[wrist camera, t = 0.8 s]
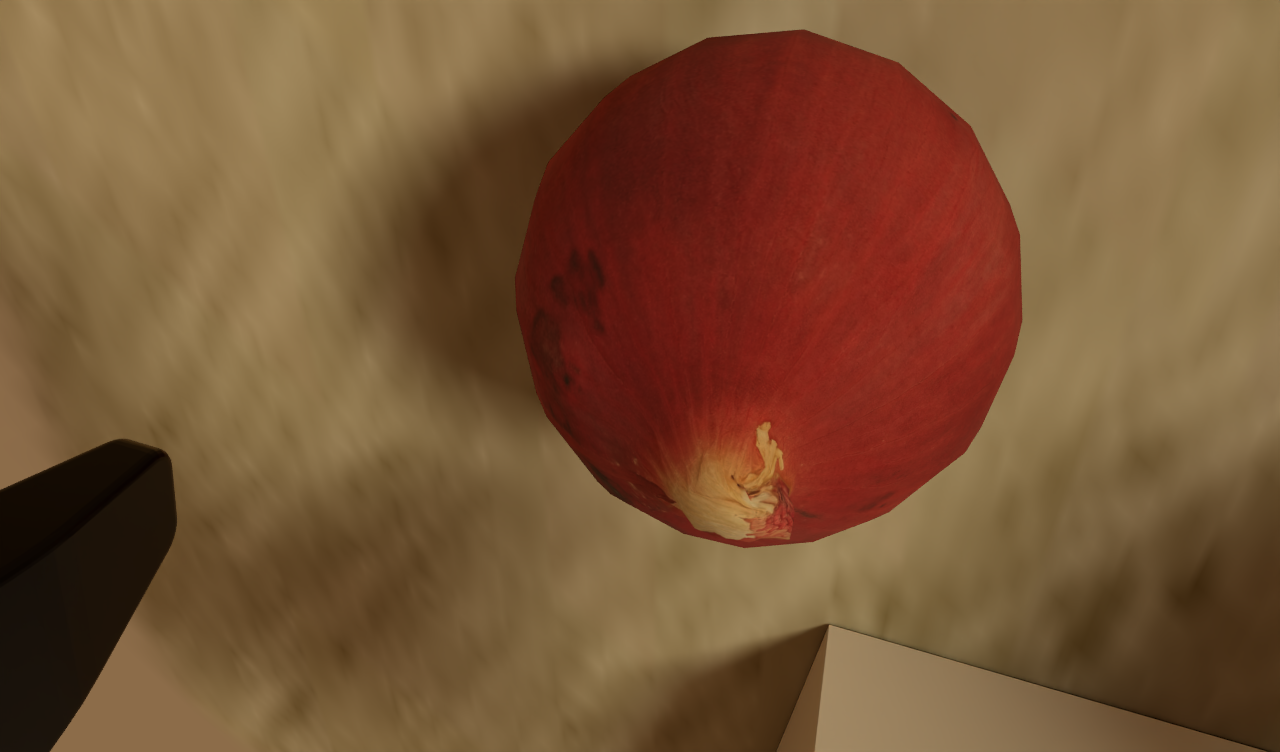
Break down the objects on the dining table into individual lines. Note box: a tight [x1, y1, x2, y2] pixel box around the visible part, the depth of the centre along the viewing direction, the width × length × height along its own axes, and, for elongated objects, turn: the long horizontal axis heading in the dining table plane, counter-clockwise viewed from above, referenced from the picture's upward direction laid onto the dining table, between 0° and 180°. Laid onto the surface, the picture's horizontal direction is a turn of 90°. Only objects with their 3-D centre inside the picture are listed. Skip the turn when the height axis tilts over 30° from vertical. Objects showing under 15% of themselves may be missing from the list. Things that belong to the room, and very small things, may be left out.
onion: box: [515, 30, 1022, 548], centre depth 14 cm, size 6×6×8 cm
